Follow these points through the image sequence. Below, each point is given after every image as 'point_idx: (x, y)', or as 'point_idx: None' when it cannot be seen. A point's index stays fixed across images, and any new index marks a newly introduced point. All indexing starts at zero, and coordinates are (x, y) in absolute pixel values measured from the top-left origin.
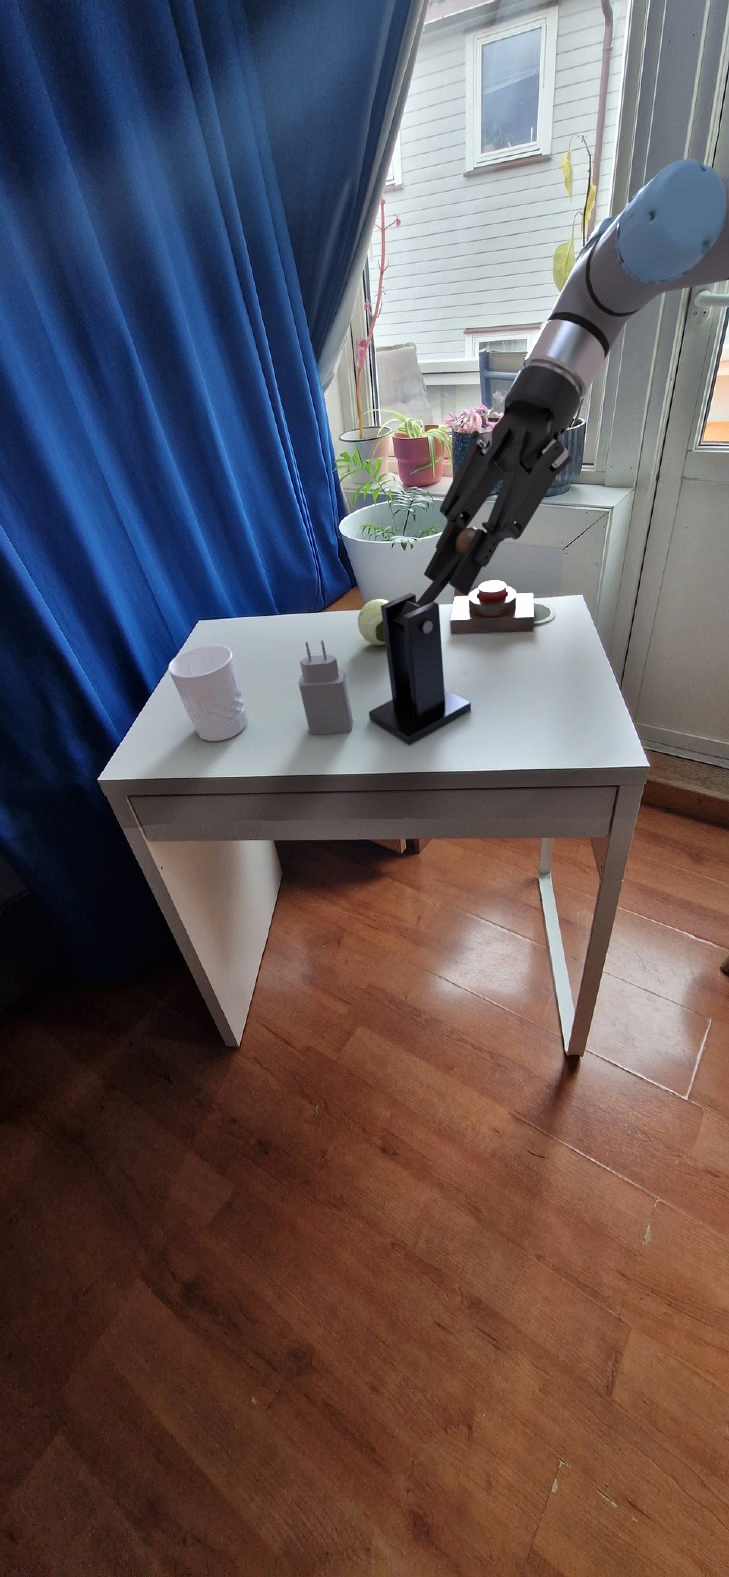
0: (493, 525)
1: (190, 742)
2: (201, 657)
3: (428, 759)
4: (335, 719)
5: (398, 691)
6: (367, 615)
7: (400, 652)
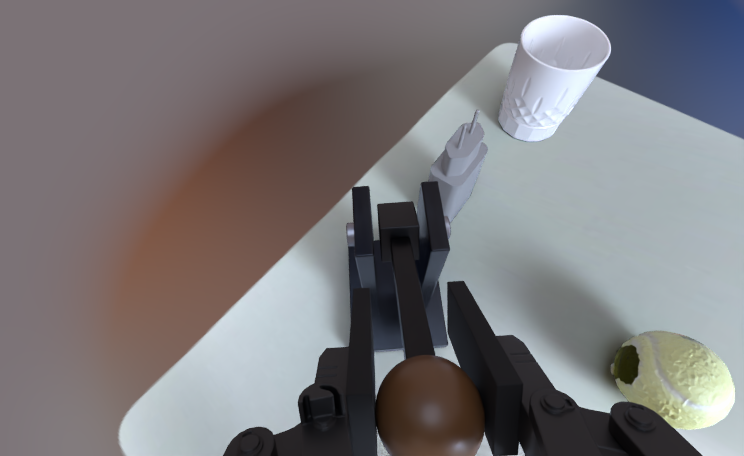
0: (302, 418)
1: None
2: (598, 61)
3: (312, 249)
4: None
5: None
6: (668, 340)
7: None
